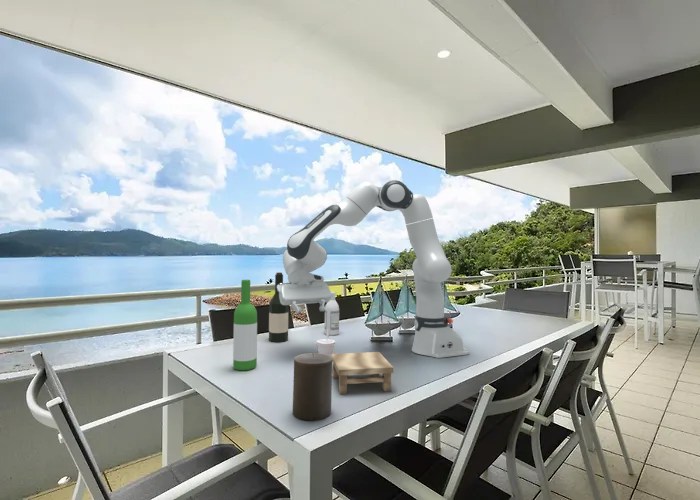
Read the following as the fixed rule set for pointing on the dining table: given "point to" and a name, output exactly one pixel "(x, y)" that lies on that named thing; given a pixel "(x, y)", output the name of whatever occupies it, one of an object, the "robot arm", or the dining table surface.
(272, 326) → the wine bottle
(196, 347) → the dining table surface
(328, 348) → the smoothie
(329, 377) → the pillar candle
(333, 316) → the bath foam
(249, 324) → the wine bottle
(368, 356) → the footstool
